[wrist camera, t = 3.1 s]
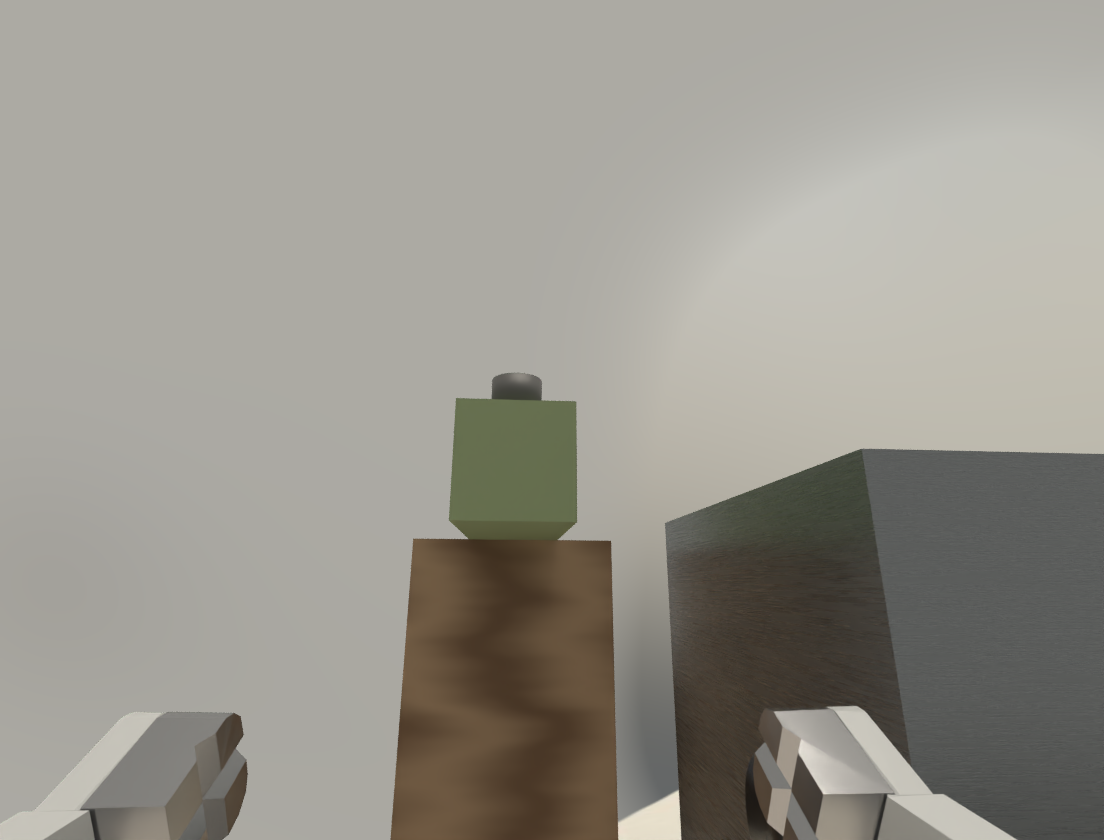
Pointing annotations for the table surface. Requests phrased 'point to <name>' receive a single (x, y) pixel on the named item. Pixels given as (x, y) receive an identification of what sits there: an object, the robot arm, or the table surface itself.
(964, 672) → the grey tall box
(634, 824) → the table surface
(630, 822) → the table surface
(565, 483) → the green rectangular bar
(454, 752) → the wooden block
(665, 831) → the table surface
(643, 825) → the table surface
